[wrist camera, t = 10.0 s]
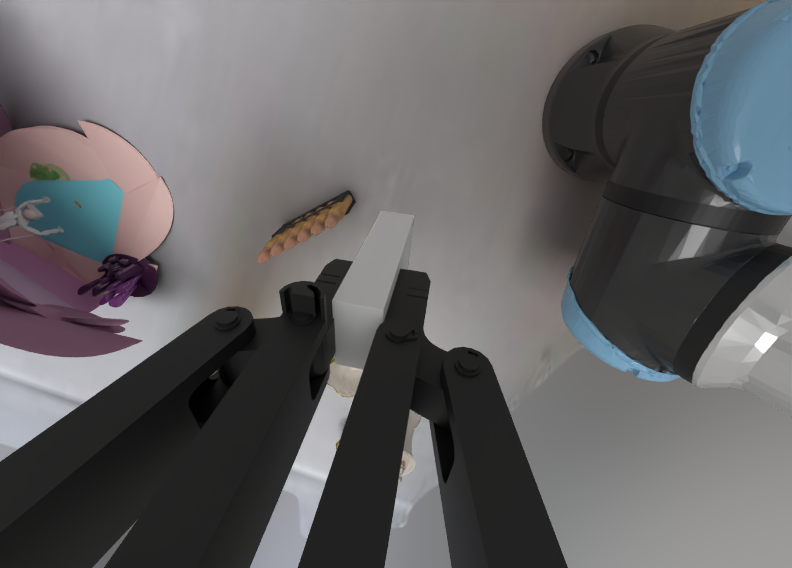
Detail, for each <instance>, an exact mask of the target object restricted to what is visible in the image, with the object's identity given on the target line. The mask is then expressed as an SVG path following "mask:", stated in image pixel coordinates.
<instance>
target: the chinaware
mask: <svg viewBox="0 0 792 568" xmlns="http://www.w3.org/2000/svg"><path fill="white" fill-rule="evenodd" d="M362 372H363V369H358V368H353V367H347V366H342V365H337V364H335V358H334V359H333V360H332V361H331V363H330V376H329V380H328V382H327V384H328V385H330V386H332V387H333V386H334V389H335V390H336V392H337V393H338V394H340V395H341V396H343V397H352V396H355V393H356V390H357V387H358V384H359V381H360V378H361V375H362ZM420 419H421V415H419V414H417V413H416V412H414V411H412V410H410V413H409V419H408V425H407V431H406V437H405V443H404V450H403V456H402V462H401V468H400V474H399V480H398V483H401V481H402V476H405V475H406V474H409V473H411V471H412V470H413V469H414V468H415V460H414V458H413V455H412V436H413V432H414V429H415V428H416V427H417V425H418V424H419V422H420ZM339 442H340V440H339V441H338V442H337V443H336V449H337V448H338V445H339Z"/></svg>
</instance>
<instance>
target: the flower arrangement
mask: <svg viewBox="0 0 792 568" xmlns="http://www.w3.org/2000/svg"><path fill="white" fill-rule="evenodd" d="M77 121H78V122H79V124H80V126H81V127H82V129H83V131H84V133H85V134H86V136H87V138H86V137H84V136H83V135H80V134H78V133H76V132H74V131H71V130H68V129H64V128H60V127H55V126H34V127H29V128H21V129H16V130H13V128H12V125H11V122H10V120H9V118H8V116H7V114H6V112H5V111H4V109H3V108H2V106H1V104H0V343H1V344H4V345H7V346H10V347H14V348H18V349H21V350H25V351H29V352H34V353H38V354H43V355H50V356H59V357H89V356H97V355H103V354H108V353H111V352H115V351H118V350H121V349H124V348H127V347H129V346H132V345H134V344H137V343H139V342H141V341H142V340H138V339H134V338H130V337H126V336H122V335H117V334H113V333H120V332H123V331H124V330H125V328H124V327H122V326H119V325H122V324H125V323H127V322H129V320H122V319H108V318H101V317H99V316H97V315H94V314H92V313H89V312H91V311H93V310H94V309H96V308H97V307H98V306H100V305H104V304H105V303H107V302H109V305H110V306H112V307H119V306H121V305H122V304H123V303H124V302H125V301H126V300H127V299H128V297H129V296H133V297H144V296H146V295H149V294H151V293H152V292H153V291H154V290H155V288H156V285H157V282H158V275H157V272H156V271H157V268H158V265H152V264H151V262H150V261H148V260H147V259H146V258H145V257H146V256H148V255H149V254H150V253H152V252H153V251H154V250H155V249H156V248H157V247H158V246H159V245H160V244H161V243H162V241H163V240H164V239H165V237H166V235H167V234H168V232H169V230H170V227H171V224H172V220H173V202H172V198H171V195H170V192H169V190H168V188H167V186H166V184H165V182H164V181H163V179H162V178H161V177H159V178H158V176H157V174H156V173H155V171H154V170H153V168H152V167H151V165H150V164H149V163H148V161H147V160H146V159H145V158H144V157H143V156H142V155H141V154H140V153H139V152H138V151H137V150H136V149H135V148H134V147H133V146H132V145H130V144H129V143H128V142H127V141H125V140H124V139H123V138H121V137H120V136H118V135H116V134H115V133H113V132H111V131H109V130H108V129H105V128H103V127H101V126H99V125H96V124H93V123H90V122H85V121H79V120H77ZM116 294H118V295H117V296H115V295H116ZM114 296H115V297H114Z"/></svg>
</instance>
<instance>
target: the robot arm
mask: <svg viewBox="0 0 792 568" xmlns="http://www.w3.org/2000/svg"><path fill="white" fill-rule="evenodd" d="M542 126H543V137H544V141H545V145H546V148H547V150H548V152H549V154H550V156H551V157H552V159H553V160H554V161H555V163H556V164H557V165H558V166H559V167H561V168H562V169H563V170H565V171H566V172H568V173H570V174H572V175H575V176H578V177H580V178H584V179H587V180H594V181H608V180H609V182H608V184H607V187H606V189H605V191H604V194H603V195H602V198H601V200H600V203H599V205H598V208H597V210H596V212H595V215H594V217H593V220H592V222H591V225H590V227H589V230H588V232H587V235H586V237H585V239H584V242H583V244H582V247H581V249H580V252H579V254H578V257H577V259H576V262H575V264H574V266H573V267H571V269H570V271H569V273H568V277H567V286H566V289H565V291H564V294H563V297H562V301H561V309H562V316H563V320H564V322H565V324H566V326H567V328H568V329H569V331H570V332H571V333H572V335H573V336H574V337H575V338H576V339H577V340H578V341H579V342H580V343H581V344H582V345H583V346H584V347H585V348H586V349H587V350H589V351H590V352H591V353H592V354H594V355H595V356H596V357H598V358H599V359H601V360H602V361H604V362H606V363H607V364H609V365H611V366H612V367H614V368H616V369H619V370H621V371H623V372H624V371H627V370H629V371H631V372H632V373H633V374H634V375H635V376H636V377H638V378H642V379H645V380H649V381H657V382H662V381H663V382H664V381H665V382H666V381H672V380H674V379H676V378H680V377H682V378H684V379H685V380H687V381H688V382H690V383H692V384H693V385H695V386H697V387H699V388H714V387H734V388H739V389H744V390H745V391H747V392H749V393H750V394H752V395H754V396H756V397H758V398H759V399H761V400H763V401H765V402H767V403H768V404H770V405H772V406H774V407H775V408H777V409H779V410H781V411H783V412H784V413H786V414H788V415H790V416H792V248H791V247H788V246H784V245H780V244H778V243H776V242H775V241H776V239H777V236H778V235H779V233H780V231H782V229H783V227H784V226H785V225H786V223H787V222H788V220H789V219H790V217H791V216H792V0H770V1H766V2H763V3H760V4H758V5H756V6H754V7H752V8H750V9H747V10H744V11H741V12H738V13H735V14H732V15H728V16H725V17H722V18H719V19H716V20H713V21H709V22H706V23H703V24H700V25H697V26H694V27H691V28H687V29H684V30H681V31H678V32H677V31H673V30H670V29H667V28H663V27H660V26H655V25H635V26H629V27H625V28H621V29H618V30H616V31H613V32H610V33H608V34H605V35H603V36H601V37H599V38H597V39H595V40H593V41H592V42H590V43H589V44H587V45H586V46H584V47H583V48H582V49H581V50H579V51H578V52H577V53H576V54H575V55H574V56H573V57H572V58H571V59H570V60H569V61H568V62H567V64H566V65H565V66H564V67H563V69H562V70H561V71H560V73H559V74H558V76H557V78H556V79H555V81H554V83H553V85H552V87H551V89H550V92H549V94H548V97H547V100H546V103H545V107H544V113H543V125H542ZM413 221H414V215H408V214H401V213H395V212H388V211H380V213H379V215H378V217H377V219H376V221H375V222H374V224H373V226H372V228H371V230H370V232H369V233H368V235H367V237H366V239H365V241H364V243H363V245H362V246H361V248H360V250H359V252H358V254H357V256H356V257H355V259H354V261H353V262H352V261H346V260H340V259H335V260H333V261H332V262H330V263H328V264H327V265H326V266H325V267H324V269H323V270H322V272H321V275H319V276H318V278H317V279H316V281H315V282H310V281H299V282H294V283H291V284H288V285H286V286H284V287H283V288H282V289H281V290H280V291H279V293H280V299H281V305H282V311H283V313H282V315H281V316H280V317H276V318H264V319H253V316H252V314H251V312H250V311H249V310H247V309H246V308H242V307H238V306H237V307H226V308H223V309H219V310H217V311H215V312H213V313H211V314H210V315H208V316H207V317H205V318H204V319H203V320H201V321H200V322H198V323H197V324H195V325H194V326H193V327H191V328H190V329H188V330H187V331H185V332H184V333H183V334H181V335H180V336H178V337H177V338H176V339H174V340H173V341H171V342H170V343H168V344H167V345H166V346H164V347H163V348H161V349H160V350H158V351H157V352H156V353H154V354H153V355H151V356H150V357H149V358H147V359H146V360H144V361H143V362H141V363H140V364H139V365H137V366H136V367H134V368H133V369H131V370H130V371H129V372H127V373H126V374H124V375H123V376H122V377H120V378H119V379H117V380H116V381H114V382H113V383H112V384H110V385H109V386H107V387H106V388H104V389H103V390H102V391H100V392H99V393H97V394H96V395H95V396H93V397H92V398H90V399H89V400H87V401H86V402H85V403H83V404H82V405H80V406H79V407H77V408H76V409H75V410H73V411H72V412H70V413H69V414H67V415H66V416H65V417H63V418H62V419H60V420H59V421H58V422H56V423H55V424H53V425H52V426H50V427H49V428H48V429H46V430H45V431H43V432H42V433H40V434H39V435H38V436H36V437H35V438H33V439H32V440H31V441H29V442H28V443H26V444H25V445H23V446H22V447H21V448H19V449H18V450H16V451H15V452H13V453H12V454H11V455H9V456H8V457H6V458H5V459H4V460H2V461H1V462H0V568H92V567H93V566H94V565H95V564H96V563H97V562H98V561H99V560H100V559H101V558H102V557H103V555H104V554H105V553H106V552H107V551H108V550H109V549H110V548H111V547H112V546H113V545H114V544H115V543H116V542H117V541H118V540H119V539H120V537H121V536H122V535H123V534H124V533H125V532H126V531H127V530H128V529H129V528H130V527H131V526H132V525H133V524H134V523H135V521H137V522H136V523H135V524H134V526H133V527H132V529H131V530H130V531H129V533H128V534H127V536H126V537H125V539H124V540H123V542H122V543H121V544H120V546H119V547H118V549H117V550H116V551H115V553H114V554H113V556H112V557H111V559H110V560H109V561H108V563H107V564H106V566H105V567H104V568H250V565H251V563H252V561H253V558H254V556H255V554H256V551H257V549H258V546H259V544H260V542H261V539H262V537H263V534H264V532H265V530H266V527H267V525H268V523H269V520H270V518H271V515H272V513H273V511H274V508H275V506H276V504H277V501H278V499H279V496H280V494H281V491H282V489H283V487H284V485H285V482H286V480H287V477H288V475H289V473H290V470H291V468H292V465H293V463H294V461H295V458H296V456H297V454H298V451H299V449H300V446H301V444H302V442H303V439H304V437H305V434H306V432H307V430H308V427H309V425H310V423H311V420H312V418H313V415H314V413H315V411H316V408H317V406H318V403H319V401H320V399H321V396H322V394H323V392H324V389H325V387H326V384H327V382H328V380H329V376H330V363H331V361H332V359H333V356H334V354H335V364H337V365H342V366H347V367H353V368H358V369H363V372H362V375H361V378H360V381H359V384H358V387H357V390H356V393H355V396H354V399H353V402H352V405H351V408H350V411H349V414H348V418H347V421H346V424H345V427H344V430H343V433H342V436H341V439H340V442H339V445H338V448H337V451H336V454H335V457H334V460H333V463H332V466H331V469H330V472H329V475H328V478H327V481H326V484H325V487H324V490H323V493H322V496H321V499H320V502H319V505H318V508H317V511H316V514H315V517H314V520H313V523H312V526H311V529H310V532H309V535H308V539H307V542H306V545H305V548H304V551H303V554H302V557H301V560H300V563H299V566H298V568H384V566H385V560H386V553H387V548H388V541H389V535H390V529H391V523H392V517H393V511H394V505H395V499H396V492H397V486H398V480H399V474H400V468H401V462H402V456H403V450H404V443H405V437H406V431H407V425H408V419H409V413H410V410H412V411H414V412H416V413H417V414H419V415H421V416H423V417H425V418H426V419H428V420H429V423H430V429H431V436H432V442H433V449H434V455H435V462H436V468H437V475H438V481H439V488H440V494H441V501H442V507H443V513H444V520H445V527H446V532H447V539H448V546H449V553H450V559H451V566H452V568H568V567H567V564H566V562H565V559H564V556H563V554H562V551H561V548H560V546H559V543H558V540H557V538H556V535H555V532H554V530H553V527H552V525H551V522H550V519H549V517H548V514H547V511H546V508H545V506H544V503H543V500H542V498H541V495H540V492H539V490H538V487H537V484H536V482H535V479H534V476H533V474H532V471H531V468H530V466H529V463H528V460H527V458H526V455H525V452H524V450H523V447H522V444H521V442H520V439H519V436H518V434H517V431H516V428H515V426H514V423H513V420H512V417H511V415H510V412H509V409H508V407H507V404H506V401H505V399H504V396H503V393H502V391H501V388H500V385H499V383H498V380H497V377H496V375H495V372H494V369H493V367H492V365H491V363H490V361H489V360H488V358H487V357H485V356H484V355H483V354H482V353H481V352H479V351H476V350H474V349H472V348H466V347H458V348H453V349H452V350H450V351H448V352H447V351H444V350H442V349H440V348H438V347H437V346H435V345H433V344H432V343H431V342H430V341H429V340H428V339H427V337H426V336H425V334H424V331H423V325H424V319H425V313H426V307H427V300H428V294H429V288H430V282H431V281H430V279H429V277H428V275H427V273H425V272H418V271H412V270H407V269H408V263H409V255H410V246H411V238H412V230H413ZM216 370H217V372H216V373H215V374H214V375H212V374H213V373H214V372H215V371H216ZM211 375H212V376H211ZM138 518H139V519H138ZM137 519H138V520H137Z"/></svg>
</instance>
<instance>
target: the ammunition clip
mask: <svg viewBox="0 0 792 568" xmlns="http://www.w3.org/2000/svg"><path fill="white" fill-rule="evenodd" d="M354 204H355V200H354V198H353V196H352V195H351V193H350V191H349V190H348V191H346V192H344V193H342V194H340V195H338V196H336V197H335V198H333V199H331V200H329V201H327V202H325V203H323V204H322V205H320V206H318V207H316V208H314V209H312V210H310V211H308V212H307V213H305V214H303V215H301V216H299V217H297V218H295V219H293V220H292V221H290V222H288V223H286V224H284V225H283V226H282V227H281V228H280V229H279V230H278V231H277V232H275V233H274V234H273V235H272V239H271V240H270V241H269V242H268V243H267V244H266V246H265V248H264V249H263V250H262V251H261V252H260V254H259V255H258V258H257V263H263V262H265V261H267V260H268V259H270V258H271V257H273V256H277V255H279V254H280V253H282V252H283V251H284V250H285V249H286V250H287V249H291V248H292V247H294V246H295V245H296V244H297V243H298V242H299V243H301V242H304V241H306V240H307V239H309V237H311V236H312V235H314V236H315V235H318V234H320V233H321V232H322V231H323V230H324V229H325V228H332V227H333V226H335V225H336V224H337V222H339V221H340V220H341V219H342V218H343V216H344V215H346V214H348V213H349V212H350V210H351V209H352V207H353V206H354Z"/></svg>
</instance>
